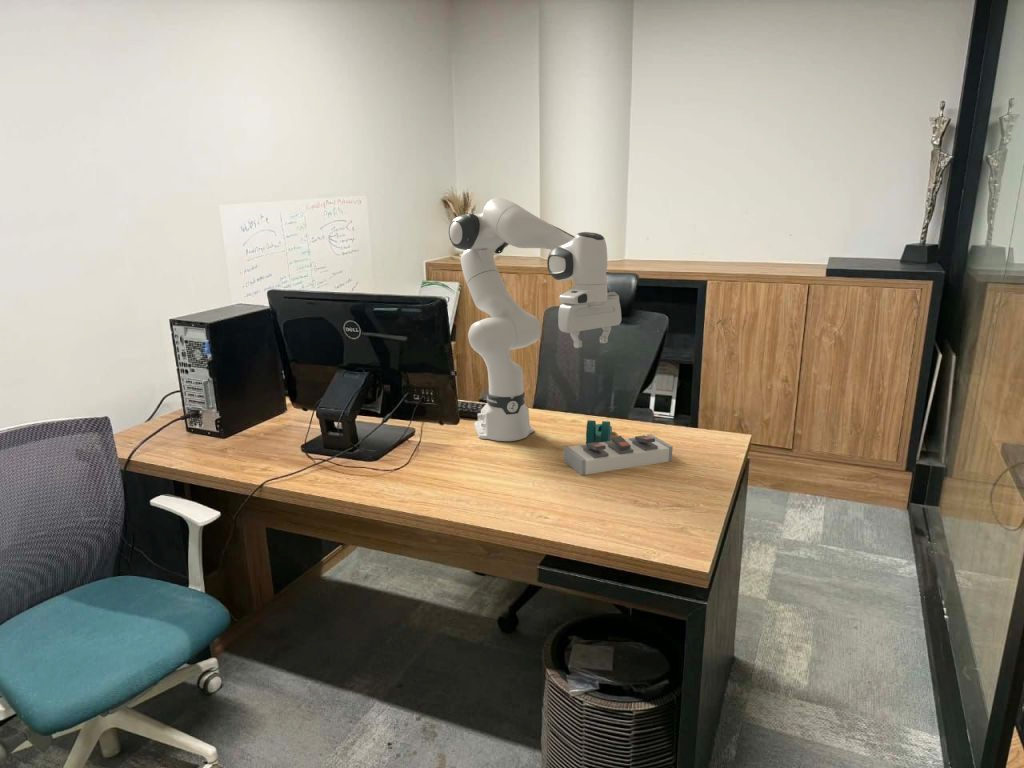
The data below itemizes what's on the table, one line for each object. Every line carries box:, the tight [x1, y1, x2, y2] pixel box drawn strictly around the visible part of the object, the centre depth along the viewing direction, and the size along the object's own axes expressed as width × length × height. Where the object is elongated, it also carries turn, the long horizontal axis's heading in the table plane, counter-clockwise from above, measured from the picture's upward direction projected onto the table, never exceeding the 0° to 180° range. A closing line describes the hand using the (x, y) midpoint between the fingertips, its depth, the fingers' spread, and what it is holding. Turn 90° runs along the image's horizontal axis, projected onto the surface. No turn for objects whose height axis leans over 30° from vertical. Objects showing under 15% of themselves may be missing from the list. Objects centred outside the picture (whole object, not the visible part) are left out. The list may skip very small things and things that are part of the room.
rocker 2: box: [610, 435, 631, 450], centre depth 201 cm, size 6×3×1 cm, turn 21°
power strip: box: [563, 433, 674, 476], centre depth 203 cm, size 12×29×5 cm, turn 111°
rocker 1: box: [585, 442, 606, 451], centre depth 198 cm, size 6×3×1 cm, turn 21°
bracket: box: [585, 420, 613, 444], centre depth 221 cm, size 18×7×8 cm, turn 168°
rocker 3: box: [634, 435, 655, 443], centre depth 204 cm, size 6×3×1 cm, turn 21°
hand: (590, 345), depth 190 cm, fingers open, 8 cm apart
